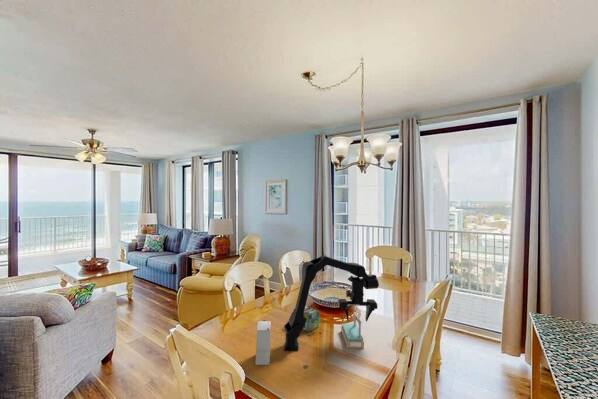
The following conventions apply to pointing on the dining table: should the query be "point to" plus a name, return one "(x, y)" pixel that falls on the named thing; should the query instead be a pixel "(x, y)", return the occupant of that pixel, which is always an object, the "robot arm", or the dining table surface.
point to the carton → (352, 341)
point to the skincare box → (263, 343)
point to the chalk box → (311, 318)
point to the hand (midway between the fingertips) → (357, 321)
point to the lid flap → (353, 329)
